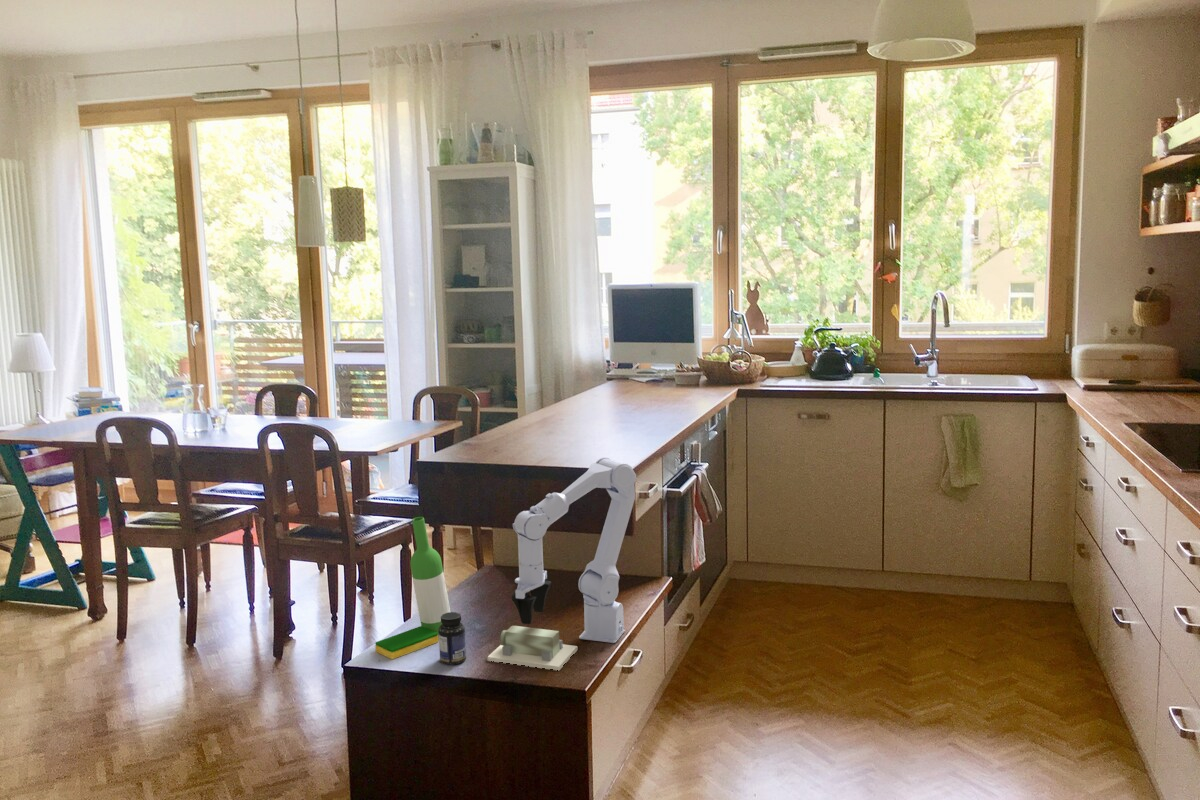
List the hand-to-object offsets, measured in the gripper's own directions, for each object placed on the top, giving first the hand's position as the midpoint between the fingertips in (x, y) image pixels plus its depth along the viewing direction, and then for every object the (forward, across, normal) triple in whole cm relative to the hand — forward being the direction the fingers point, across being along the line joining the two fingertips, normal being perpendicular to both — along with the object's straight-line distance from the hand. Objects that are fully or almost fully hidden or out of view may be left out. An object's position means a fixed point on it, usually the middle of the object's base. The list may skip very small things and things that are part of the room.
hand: (532, 617), depth 231 cm
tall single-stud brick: (+8, +2, 0) cm, 8 cm away
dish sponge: (+9, +5, -31) cm, 33 cm away
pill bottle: (+9, +9, -17) cm, 21 cm away
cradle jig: (+9, +1, 0) cm, 9 cm away
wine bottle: (+8, -5, -28) cm, 30 cm away
